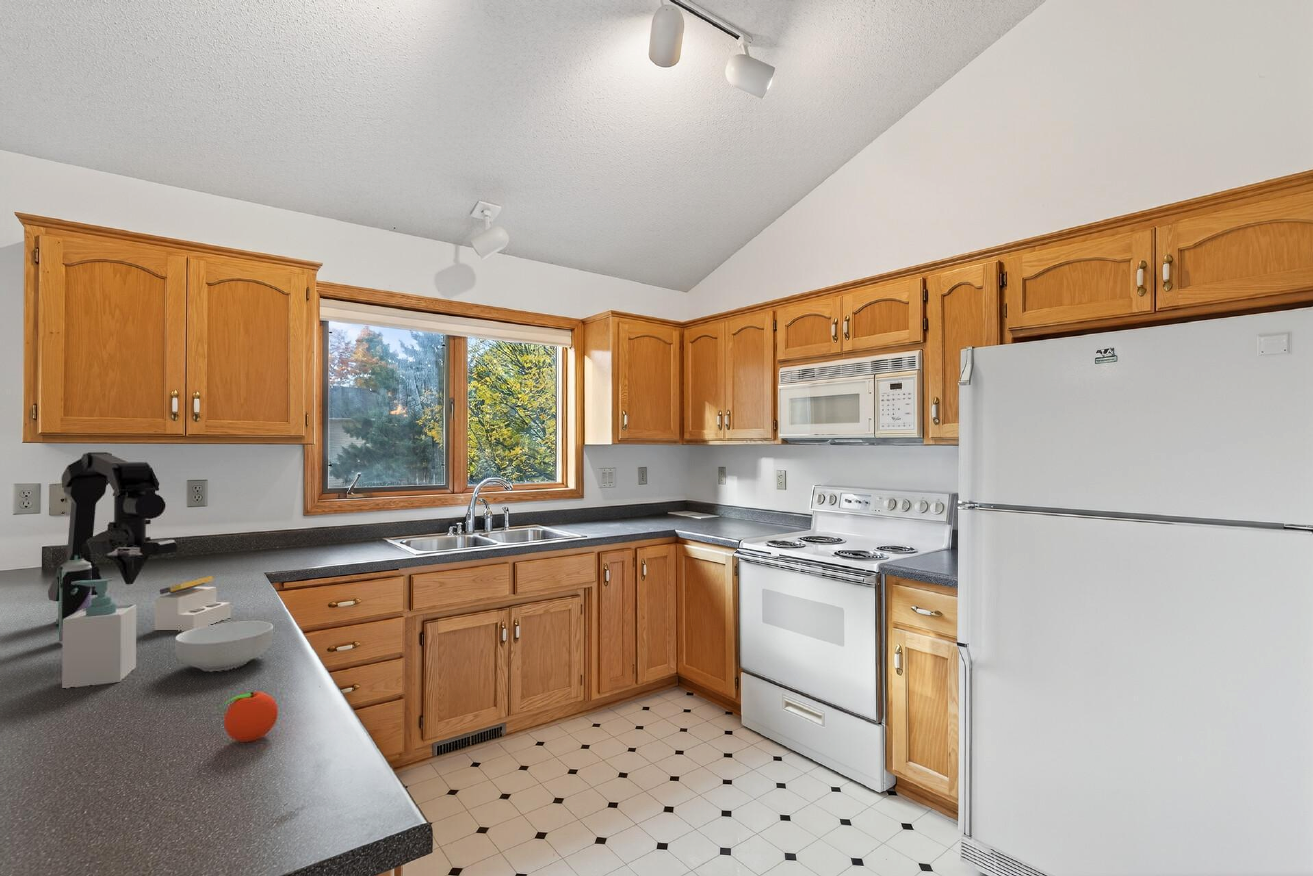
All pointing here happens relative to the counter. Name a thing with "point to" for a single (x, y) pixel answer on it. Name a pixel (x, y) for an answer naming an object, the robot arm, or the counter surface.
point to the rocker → (186, 585)
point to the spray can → (73, 588)
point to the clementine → (250, 716)
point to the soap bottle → (98, 641)
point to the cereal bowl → (223, 644)
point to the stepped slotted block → (190, 609)
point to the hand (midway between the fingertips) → (129, 584)
